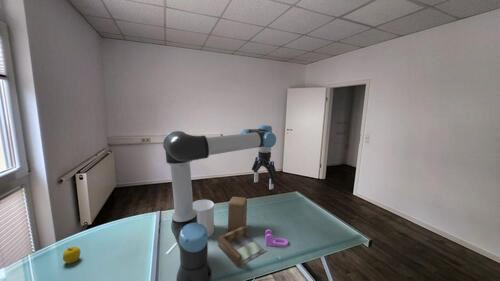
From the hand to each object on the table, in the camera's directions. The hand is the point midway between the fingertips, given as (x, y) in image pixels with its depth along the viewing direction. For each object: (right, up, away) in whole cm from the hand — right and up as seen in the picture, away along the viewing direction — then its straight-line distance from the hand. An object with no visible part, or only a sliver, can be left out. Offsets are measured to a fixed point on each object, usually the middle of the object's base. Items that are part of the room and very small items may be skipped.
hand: (263, 185), depth 119 cm
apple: (-95, -32, -24) cm, 103 cm away
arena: (-13, -32, -12) cm, 37 cm away
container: (-38, -30, +3) cm, 48 cm away
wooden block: (-16, -30, +6) cm, 35 cm away
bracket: (+7, -33, -6) cm, 34 cm away
